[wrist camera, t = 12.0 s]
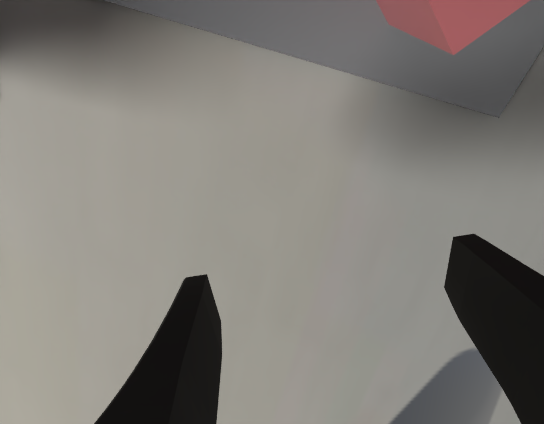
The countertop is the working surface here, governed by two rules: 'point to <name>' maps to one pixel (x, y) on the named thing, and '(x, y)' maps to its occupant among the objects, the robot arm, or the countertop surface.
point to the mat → (374, 44)
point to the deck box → (447, 19)
